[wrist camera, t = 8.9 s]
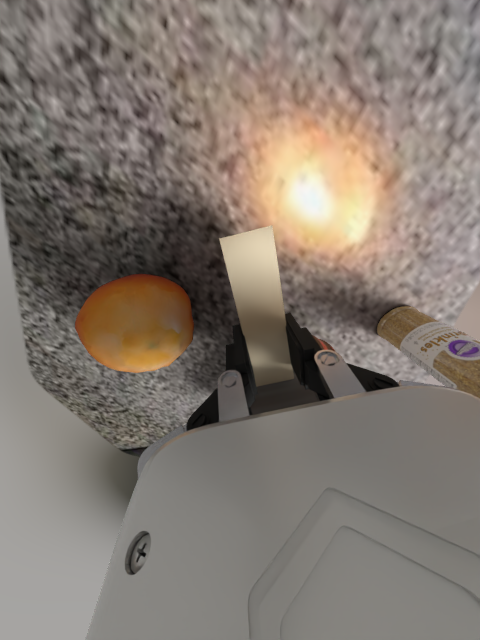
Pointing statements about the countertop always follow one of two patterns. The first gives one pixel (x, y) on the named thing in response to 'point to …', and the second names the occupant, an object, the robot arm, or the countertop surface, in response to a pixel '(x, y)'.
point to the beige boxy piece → (263, 318)
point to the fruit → (136, 323)
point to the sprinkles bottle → (434, 347)
